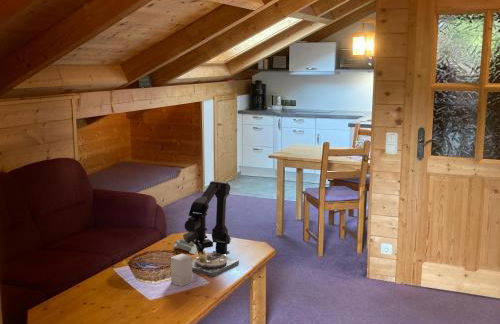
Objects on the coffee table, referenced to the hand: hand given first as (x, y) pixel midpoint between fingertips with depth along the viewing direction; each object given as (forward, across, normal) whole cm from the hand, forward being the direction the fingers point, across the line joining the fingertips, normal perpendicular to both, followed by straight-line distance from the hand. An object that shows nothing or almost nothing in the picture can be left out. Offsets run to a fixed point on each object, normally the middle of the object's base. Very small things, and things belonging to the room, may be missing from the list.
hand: (199, 255), depth 269 cm
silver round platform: (+4, +1, +6) cm, 8 cm away
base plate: (+7, +1, +6) cm, 9 cm away
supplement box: (+6, +13, -16) cm, 21 cm away
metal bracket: (+8, -28, +5) cm, 30 cm away
